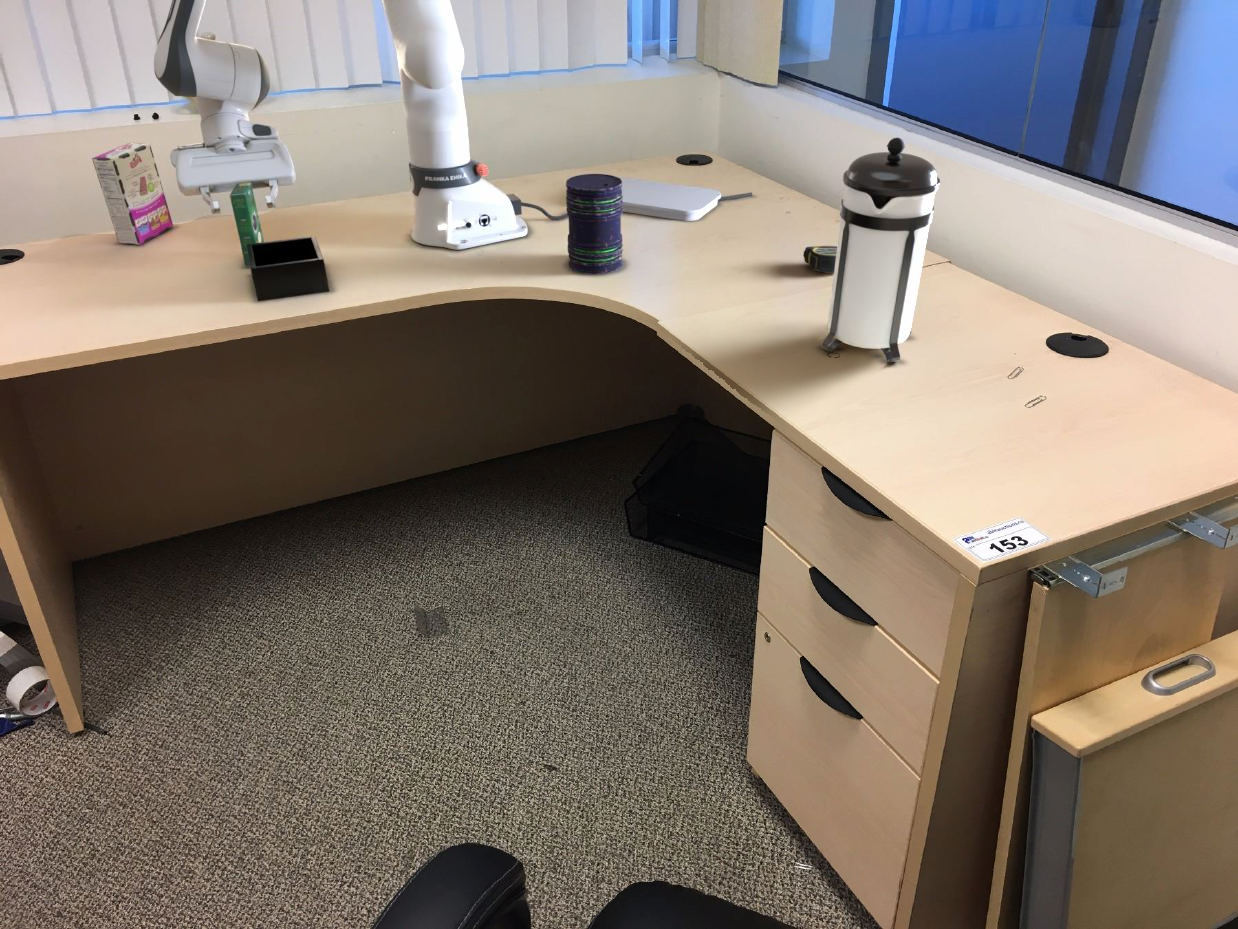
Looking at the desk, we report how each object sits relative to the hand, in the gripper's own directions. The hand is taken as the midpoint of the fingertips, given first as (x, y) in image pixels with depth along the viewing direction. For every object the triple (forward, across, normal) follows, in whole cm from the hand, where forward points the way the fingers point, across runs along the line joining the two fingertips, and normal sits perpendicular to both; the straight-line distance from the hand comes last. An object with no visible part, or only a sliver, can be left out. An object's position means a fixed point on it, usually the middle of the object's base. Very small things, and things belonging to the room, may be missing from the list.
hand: (244, 209), depth 169 cm
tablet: (+6, +81, +7) cm, 81 cm away
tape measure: (+38, +94, -25) cm, 105 cm away
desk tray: (+18, +5, -6) cm, 19 cm away
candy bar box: (-8, -19, +20) cm, 29 cm away
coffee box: (+8, 0, +5) cm, 9 cm away
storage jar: (+26, +57, -14) cm, 64 cm away
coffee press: (+58, +84, -45) cm, 112 cm away
